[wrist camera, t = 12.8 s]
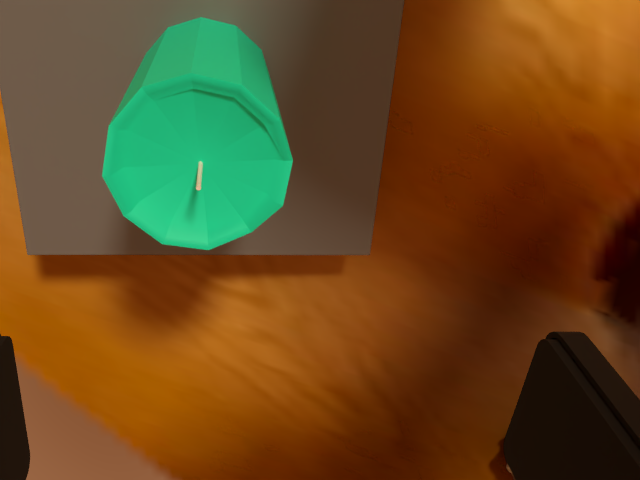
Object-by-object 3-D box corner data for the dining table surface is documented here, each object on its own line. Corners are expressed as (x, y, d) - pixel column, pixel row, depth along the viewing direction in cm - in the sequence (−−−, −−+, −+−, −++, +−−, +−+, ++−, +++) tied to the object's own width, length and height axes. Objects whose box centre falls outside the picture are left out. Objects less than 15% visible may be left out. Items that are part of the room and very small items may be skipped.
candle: (150, 148, 30) (110, 281, 19) (131, 18, 27) (74, 91, 16) (274, 142, 30) (300, 267, 20) (269, 15, 28) (297, 83, 17)
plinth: (-7, -154, 27) (-41, -162, 23) (396, -114, 29) (419, -116, 26) (47, 219, 35) (27, 254, 31) (356, 222, 38) (369, 255, 34)
